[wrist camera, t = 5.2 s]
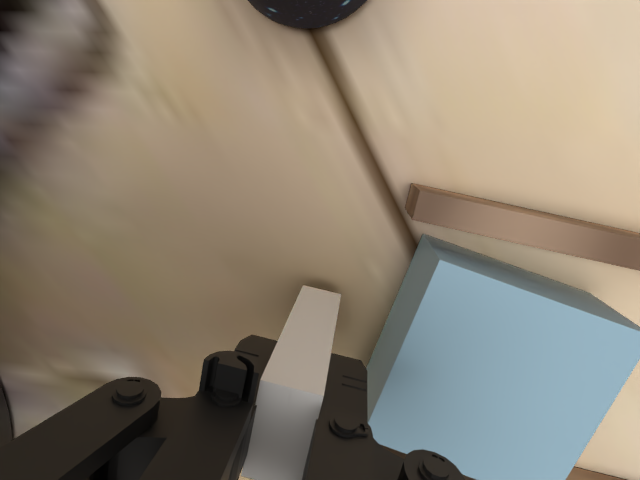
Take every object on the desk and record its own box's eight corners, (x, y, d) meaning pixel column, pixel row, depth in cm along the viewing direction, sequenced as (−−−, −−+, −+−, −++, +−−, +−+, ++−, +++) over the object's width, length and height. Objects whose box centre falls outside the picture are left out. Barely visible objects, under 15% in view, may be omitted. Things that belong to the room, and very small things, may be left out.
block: (361, 376, 19) (361, 437, 15) (422, 232, 17) (439, 259, 13) (510, 429, 19) (549, 506, 15) (586, 290, 17) (653, 336, 13)
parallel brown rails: (346, 430, 19) (344, 472, 17) (411, 183, 16) (420, 190, 14) (633, 502, 18) (674, 556, 16) (753, 258, 16) (825, 279, 13)
